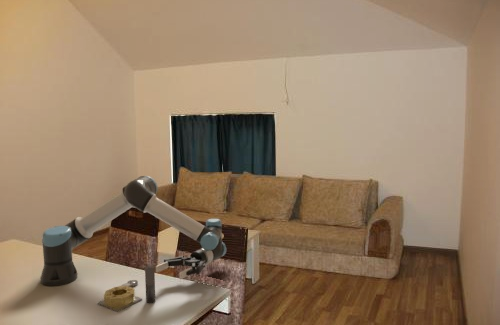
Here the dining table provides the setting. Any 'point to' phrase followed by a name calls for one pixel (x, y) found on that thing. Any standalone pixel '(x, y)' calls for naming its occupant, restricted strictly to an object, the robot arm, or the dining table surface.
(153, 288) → the steel pin
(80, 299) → the dining table surface
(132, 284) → the grey bar with ball
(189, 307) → the dining table surface
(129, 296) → the ring nut
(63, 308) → the dining table surface
